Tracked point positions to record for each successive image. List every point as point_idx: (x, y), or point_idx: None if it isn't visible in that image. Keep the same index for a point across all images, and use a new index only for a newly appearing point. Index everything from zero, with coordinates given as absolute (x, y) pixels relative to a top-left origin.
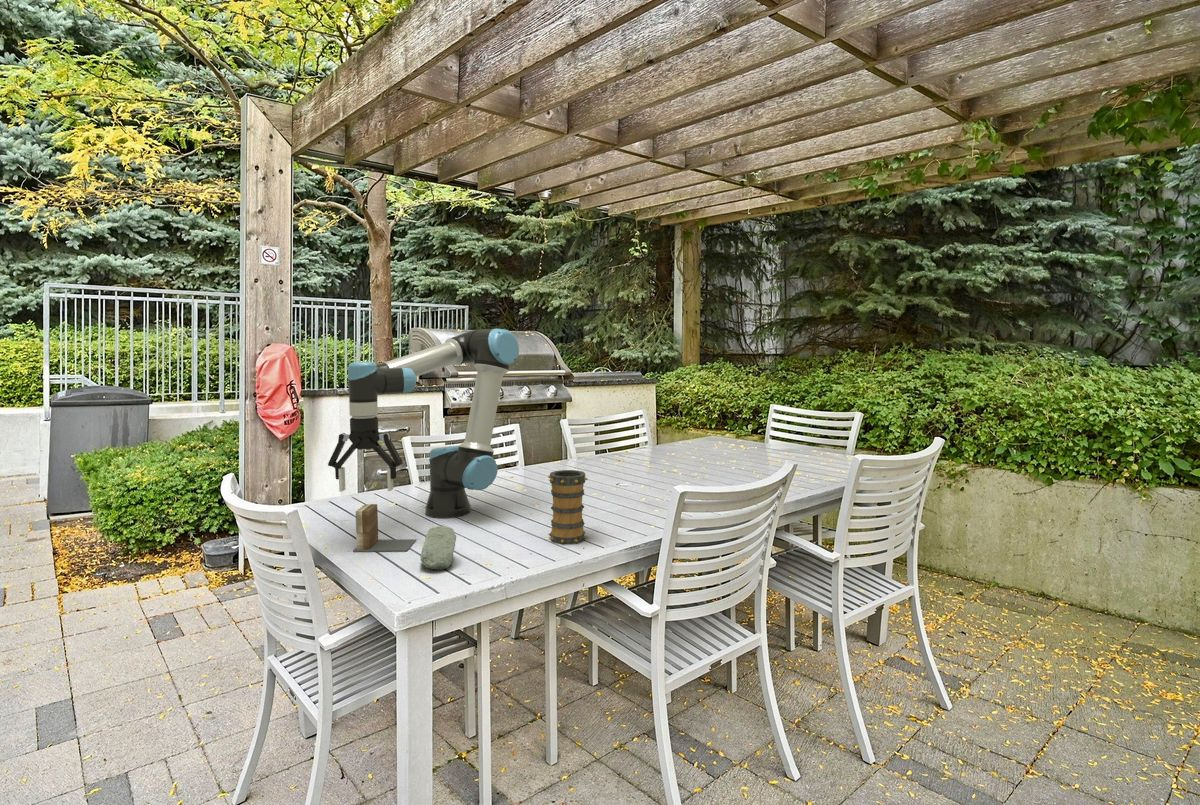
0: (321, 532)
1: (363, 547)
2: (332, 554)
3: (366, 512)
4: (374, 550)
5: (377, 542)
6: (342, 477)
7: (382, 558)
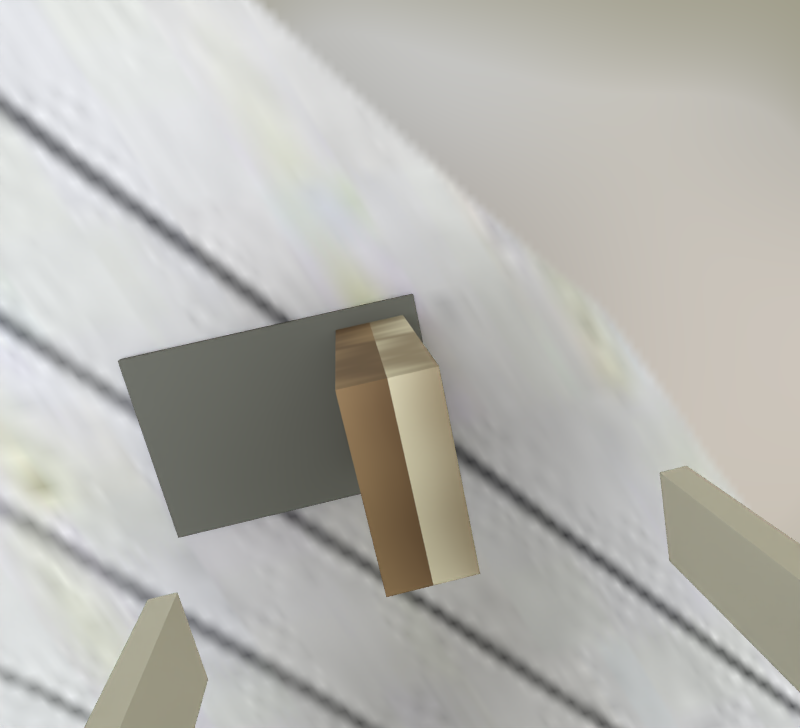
0: None
1: (367, 324)
2: (500, 238)
3: (350, 385)
4: (297, 320)
5: None
6: (765, 584)
7: (192, 228)
